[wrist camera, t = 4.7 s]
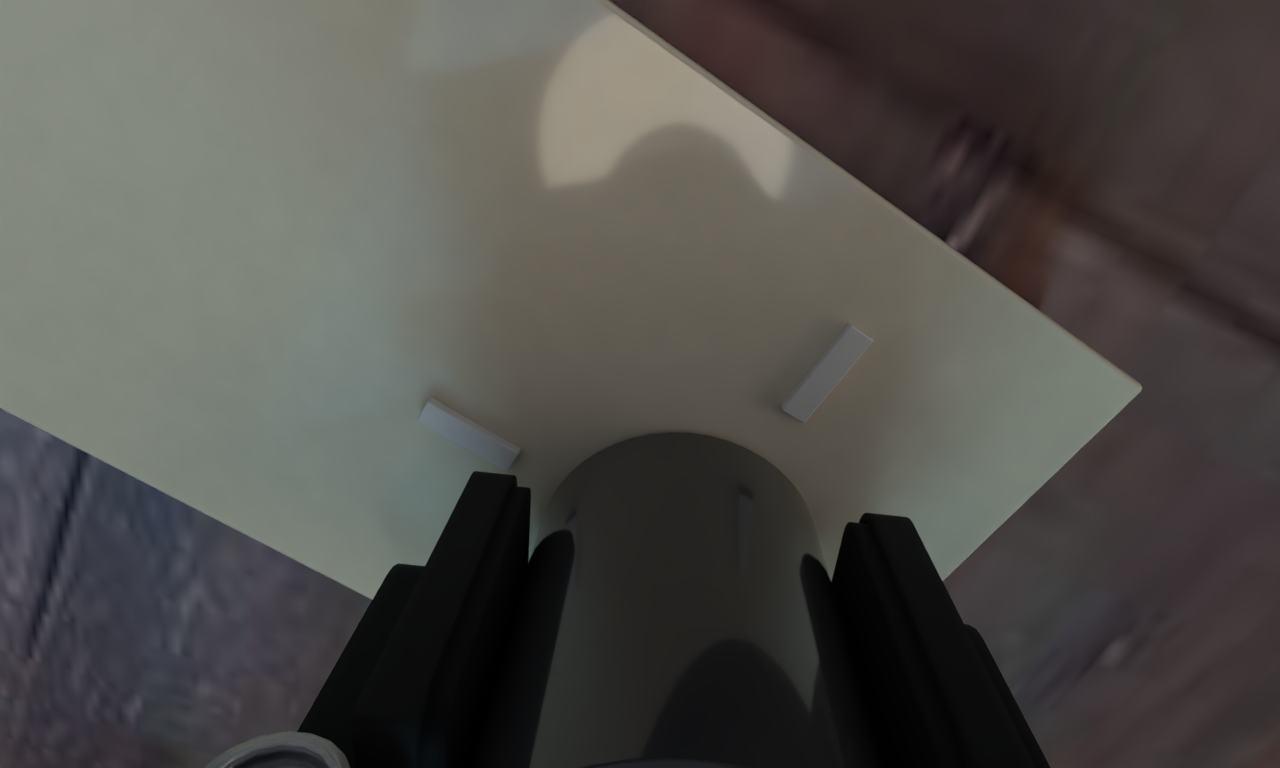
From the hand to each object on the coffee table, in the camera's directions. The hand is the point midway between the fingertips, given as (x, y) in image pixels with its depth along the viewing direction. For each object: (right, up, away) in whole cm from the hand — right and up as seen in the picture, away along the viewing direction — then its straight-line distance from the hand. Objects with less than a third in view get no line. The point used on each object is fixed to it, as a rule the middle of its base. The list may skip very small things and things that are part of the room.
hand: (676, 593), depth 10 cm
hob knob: (0, 0, +1) cm, 1 cm away
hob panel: (-2, +4, +3) cm, 5 cm away
